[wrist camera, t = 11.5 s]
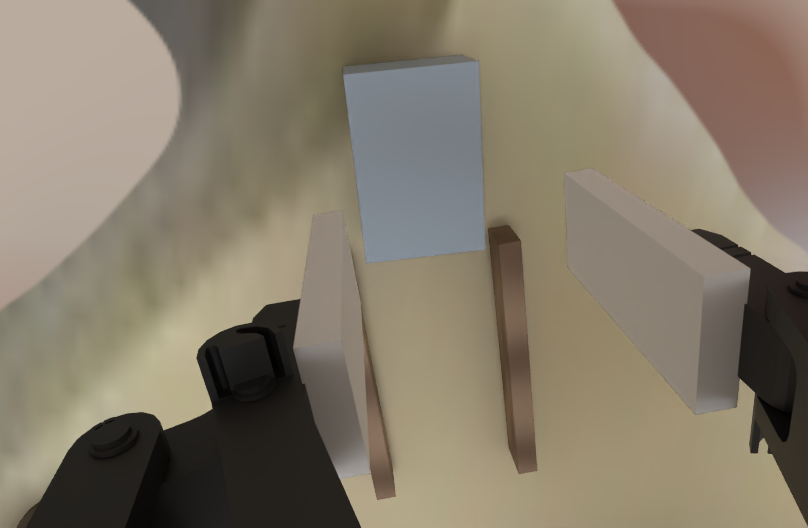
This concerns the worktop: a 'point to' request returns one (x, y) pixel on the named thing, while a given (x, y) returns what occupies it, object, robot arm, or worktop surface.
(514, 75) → the worktop surface
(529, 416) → the walnut channel
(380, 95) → the slate block
